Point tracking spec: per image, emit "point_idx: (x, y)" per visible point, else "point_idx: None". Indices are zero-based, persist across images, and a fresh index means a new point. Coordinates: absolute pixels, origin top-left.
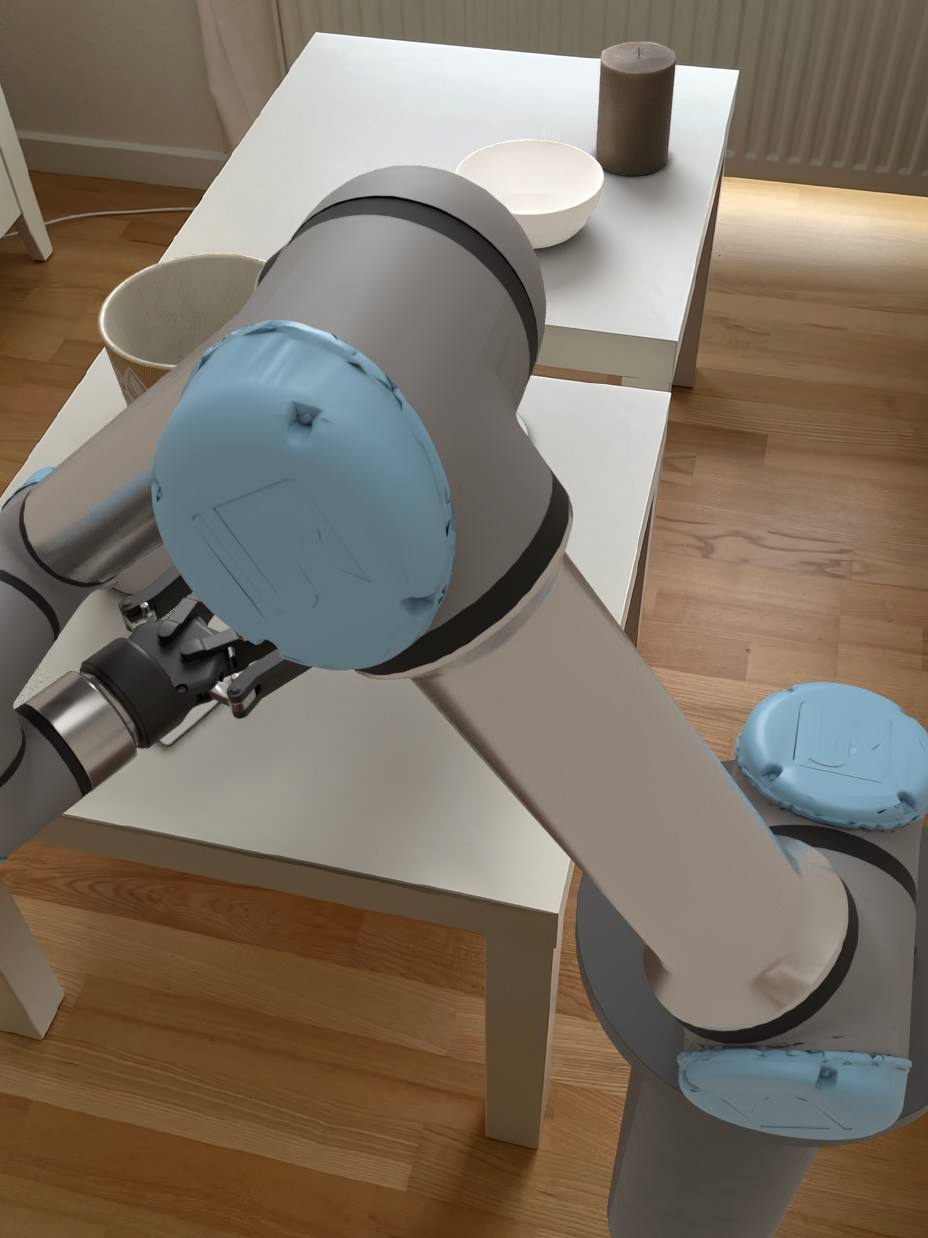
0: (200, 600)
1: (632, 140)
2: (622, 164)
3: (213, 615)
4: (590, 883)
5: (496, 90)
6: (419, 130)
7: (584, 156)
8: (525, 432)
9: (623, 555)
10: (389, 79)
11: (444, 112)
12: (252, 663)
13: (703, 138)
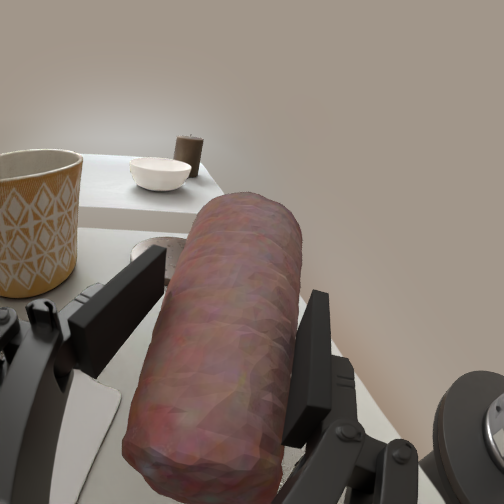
0: (3, 501)
1: (189, 164)
2: None
3: (48, 501)
4: (469, 491)
5: (127, 161)
6: (103, 167)
7: (178, 162)
8: None
9: (306, 306)
10: (90, 159)
11: (111, 164)
12: (87, 458)
13: (204, 172)
